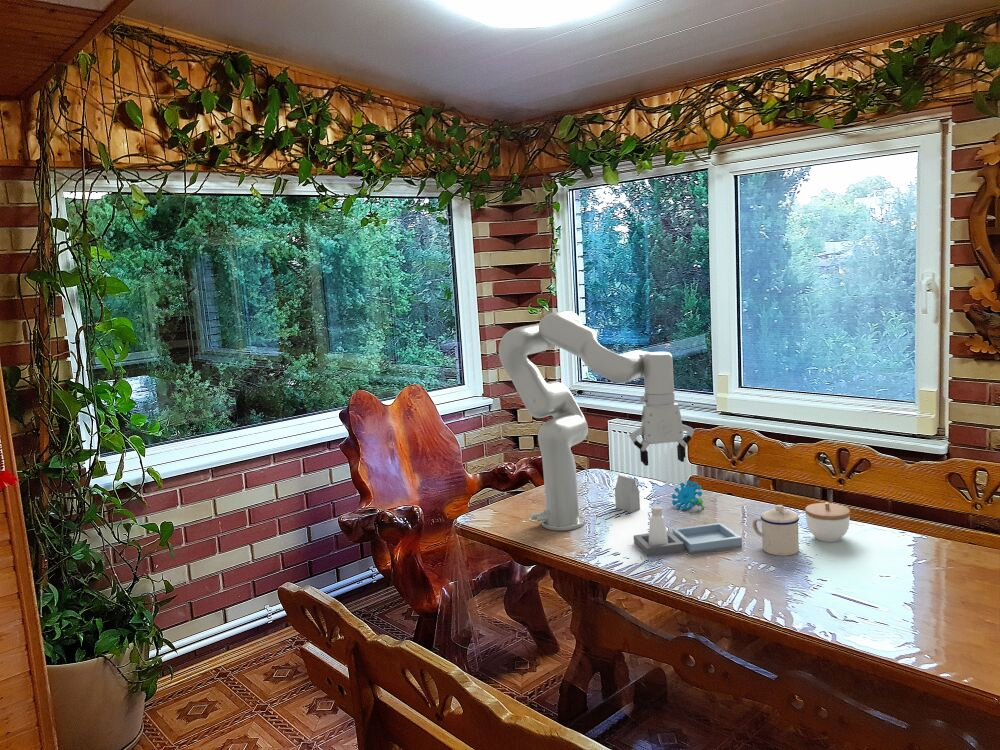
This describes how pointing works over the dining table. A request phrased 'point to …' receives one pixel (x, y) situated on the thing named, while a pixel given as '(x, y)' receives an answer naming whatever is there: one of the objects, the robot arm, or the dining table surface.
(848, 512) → the lidded jar
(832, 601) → the dining table surface
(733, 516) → the dining table surface
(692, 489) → the blue spiky cluster
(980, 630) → the dining table surface
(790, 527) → the teacup with lid
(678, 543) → the socket block
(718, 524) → the parts tray
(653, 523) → the pepper shaker
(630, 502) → the grey upright wedge block
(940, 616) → the dining table surface
